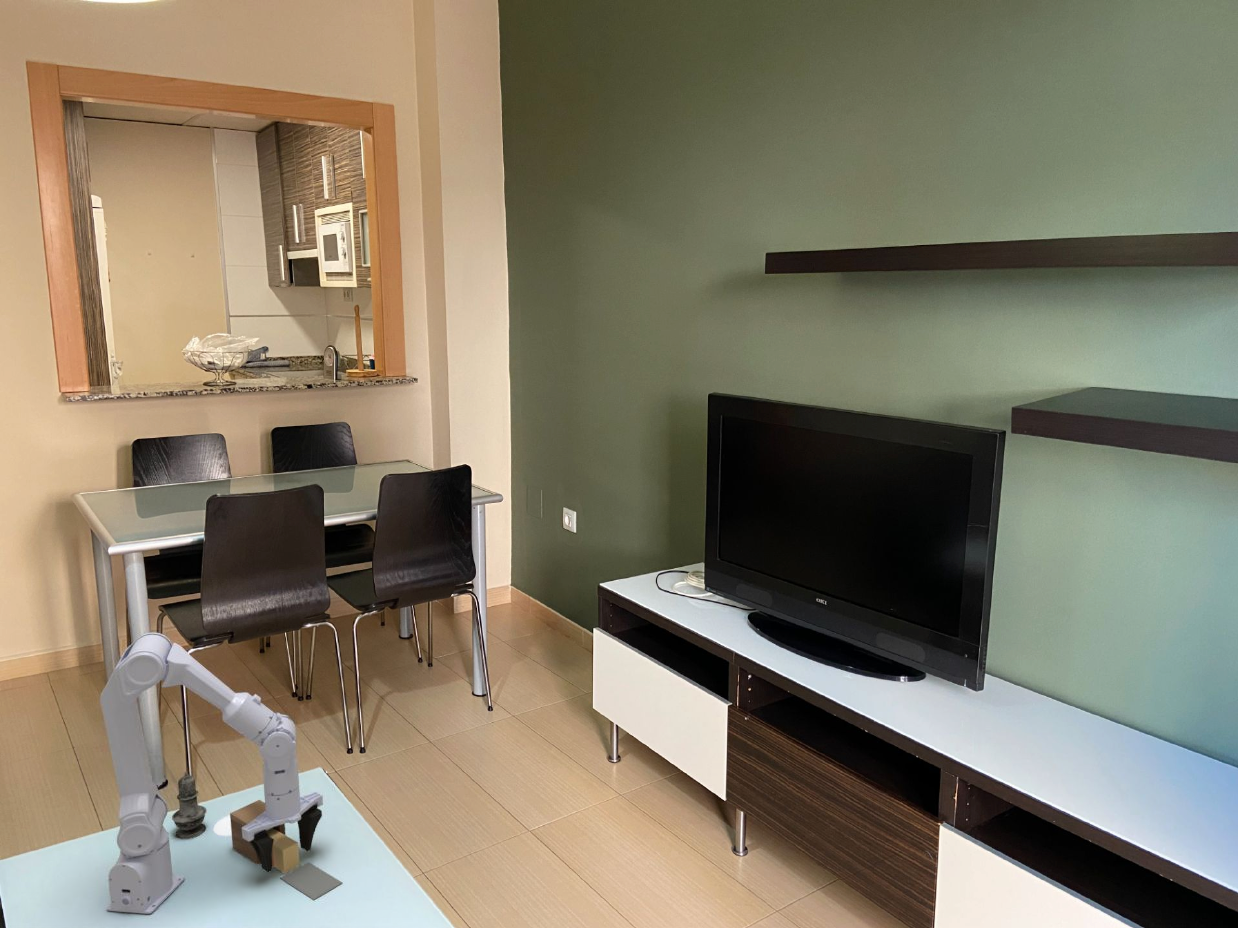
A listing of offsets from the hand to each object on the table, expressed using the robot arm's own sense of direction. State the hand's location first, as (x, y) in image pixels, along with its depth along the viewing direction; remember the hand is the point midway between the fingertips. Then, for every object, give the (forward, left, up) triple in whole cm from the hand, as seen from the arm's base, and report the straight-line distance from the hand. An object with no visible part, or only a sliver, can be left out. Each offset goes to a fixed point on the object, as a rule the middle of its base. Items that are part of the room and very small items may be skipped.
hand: (286, 858), depth 158 cm
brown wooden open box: (+4, +8, -1) cm, 9 cm away
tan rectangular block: (+2, +4, -2) cm, 5 cm away
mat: (-4, -6, -1) cm, 7 cm away
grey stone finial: (+8, +24, -2) cm, 25 cm away
